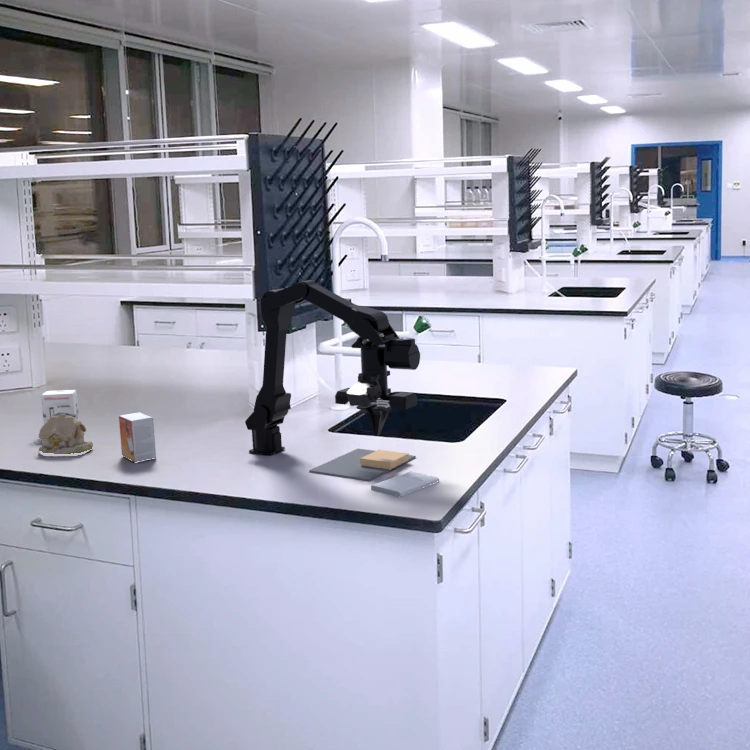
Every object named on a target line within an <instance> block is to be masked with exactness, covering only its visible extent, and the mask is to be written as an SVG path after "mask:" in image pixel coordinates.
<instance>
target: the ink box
mask: <svg viewBox="0 0 750 750" xmlns="http://www.w3.org/2000/svg"><path fill="white" fill-rule="evenodd" d="M77 393H78V391H77V390H76V389H60V390H59V389H58V390H57V389H56V390H46V391H45V392H43V393H42V394H41V396H40V398H41V399H40V400H41V408H42V420H43V421H42V422H43V425H44V424H45V423H46V422H47V421H48V420H49V418H50V417H51V416H59V413H65V414H66V416H72V417H74V418H75V419H77V420H78V421H80V418H79V408H78V394H77Z"/></svg>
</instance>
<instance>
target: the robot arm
mask: <svg viewBox="0 0 750 750" xmlns="http://www.w3.org/2000/svg"><path fill="white" fill-rule="evenodd" d="M304 301H306V302H308V303H310V304H311V305H314V306H316V307H317V308H318V309H321V310H323V311H325V312H327V314H328V313H329V314H330V315H332V316H333V317H335V318H337V319H339V320H341V321H343V322H344V323H345V324H346V325H347V327H348V328H349V329H350V330H351V331H352V332H353V333H354V334H356V335H357V336H358V337H357V339H356V341H354V342H353V343H352V344H351V348H352V349H360V366H361V368H360V369H361V372H359V373H358V376H357V382H356V383H354V384H353V385H352V386H351V387H347V388H343V389H340V390H337V391H336V393H335V395H334V404H336V405H347V404H348V403H349V406H350V407H354V406H356V407H355V408H356V409H357V410H360V411H361V412H362V413H363V414H364V415H365V417H366V419H367V421H368V423H369V426H370V428H371V431H372V433H373V435H374V436H375V437H378V436H380V435H381V433H382V430H383V428H384V425H385V422H386V420H387V417H388V416H389V413H390V412H391V410H400V411H405V410H408V409H410V408H414V407H415V406H417V405H418V397H417V396H416V393H415V392H406V391H400V392H396V393H394V394H392V395H391V393H392V388H389V387H388V386H389V385H388V376H391V371H390V370H388V368H389V369H391V370H392V369H393V370H411V371H412V370H413V371H415V370H417V369H418V368H419V365H420V362H421V361H420V360H421V352H420V350H419V346H418V345H417V344H416V339H415V338H411V337H410V338H400V336H399V335H398V334H397V333H396V331H395V329H394V328H393V327H392V325H391V324H390V322H389V319H388V315H387V314H386V313H385V312H384V311H382V310H379V309H375V308H372V307H370V306H369V307H368V306H362V305H357V304H355V303H353V302H351V301H349V300H347V299H346V298H344V297H342V296H340V295H338V294H336V293H335V292H332V291H331V290H329V289H327V288H325V287H324V286H321V285H320V284H318V283H317V282H315V281H314V280H312V279H308V280H303V281H299V282H297V283H296V284H293V285H291V286H288V287H286V288H279V289H273V290H268V291H265V292H264V293H263V294H262V295H261V297H260V300H259V305H260V315H261V318H262V321H263V323H264V325H265V340H264V354H263V355H264V358H263V371H262V372H263V373H262V375H263V376H262V385H261V387H260V390H259V392H258V394H257V395H256V398H255V402H254V406H253V412H252V413H250V415H249V416H248V418H246V420H245V421H244V422H245V426H246V428H247V430H248V431H251V438H252V439H251V441H252V448H251V449H249V450H248V453H250V454H251V453H252V454H258V455H265V456H271V455H274V454H275V453H278V452H281V451H284V450H285V449H286V447H285V446H283V444H282V443H283V442H282V433H281V430H280V428H281V427H280V425H282V424H283V423H284V420H285V417H286V416H287V415H288V414H289V410H292V407H291V398H292V393H291V392H286V389H285V387H284V374H285V360H286V349H287V348H286V345H287V344H286V343H287V331H288V326H289V325H290V322H291V320H292V319H293V317H294V313H295V310H296V305H299V304H300V303H303V302H304ZM389 394H390V395H389Z"/></svg>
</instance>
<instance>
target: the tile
mask: <svg viewBox="0 0 750 750" xmlns="http://www.w3.org/2000/svg"><path fill="white" fill-rule="evenodd" d="M374 451H375V452H373V453H371V454H368V455H366V456H364V457H362V458H360V465H363V466H368V467H375V468H382V469H389V470H390V471H392V470H394V469H396V468H397V467H396V466H398V465H400V464H402V463H404V462H406V461H408V460H409V455H410V453H407V452H401V451H391V450H384V449H377V450H374ZM408 462H409V461H408ZM406 463H407V462H406ZM404 464H405V463H404ZM402 465H403V464H402ZM400 466H401V465H400ZM395 467H396V468H395ZM398 467H399V466H398ZM393 468H394V469H393ZM391 469H392V470H391Z"/></svg>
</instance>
